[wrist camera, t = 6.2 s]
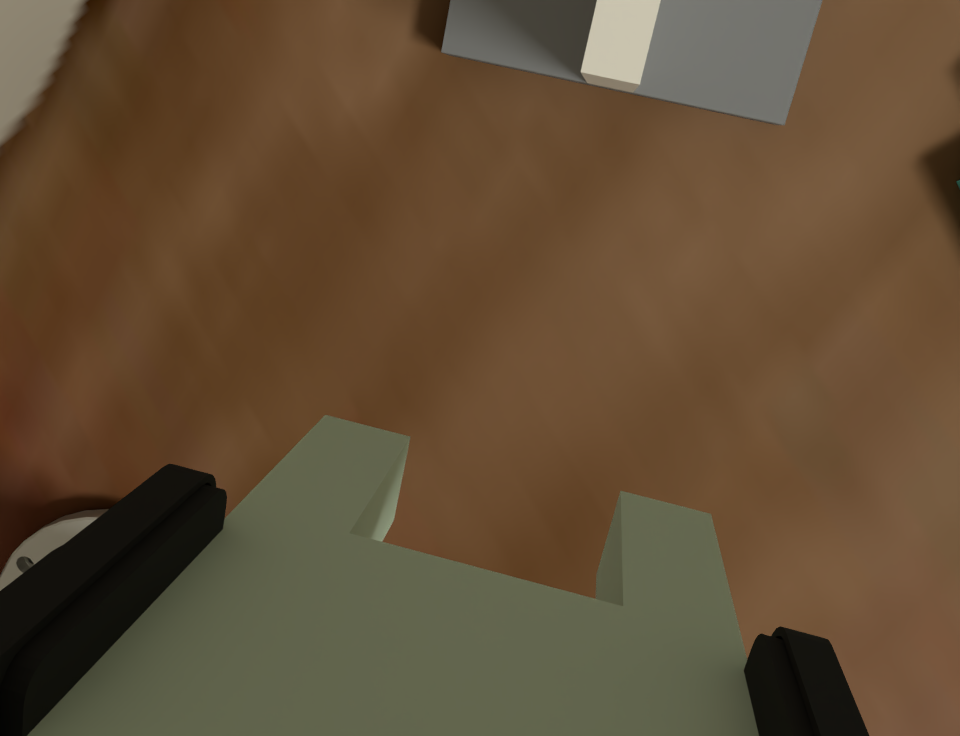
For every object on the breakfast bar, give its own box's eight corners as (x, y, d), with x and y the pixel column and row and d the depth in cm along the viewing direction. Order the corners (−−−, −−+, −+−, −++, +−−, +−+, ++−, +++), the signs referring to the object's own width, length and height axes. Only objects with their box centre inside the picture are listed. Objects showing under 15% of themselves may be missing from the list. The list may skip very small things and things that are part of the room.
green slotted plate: (711, 514, 14) (922, 1365, 4) (683, 597, 14) (821, 1526, 5) (325, 415, 14) (-226, 983, 5) (311, 498, 15) (-215, 1163, 5)
